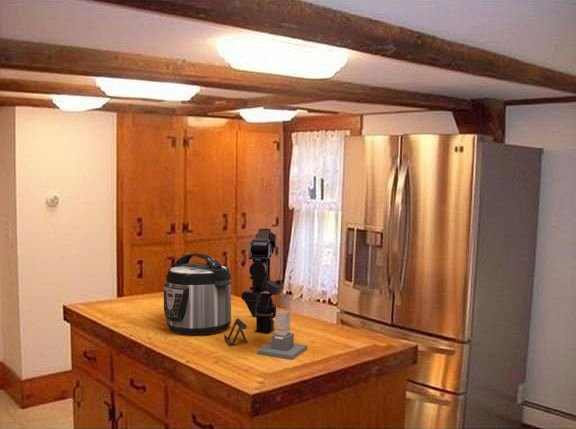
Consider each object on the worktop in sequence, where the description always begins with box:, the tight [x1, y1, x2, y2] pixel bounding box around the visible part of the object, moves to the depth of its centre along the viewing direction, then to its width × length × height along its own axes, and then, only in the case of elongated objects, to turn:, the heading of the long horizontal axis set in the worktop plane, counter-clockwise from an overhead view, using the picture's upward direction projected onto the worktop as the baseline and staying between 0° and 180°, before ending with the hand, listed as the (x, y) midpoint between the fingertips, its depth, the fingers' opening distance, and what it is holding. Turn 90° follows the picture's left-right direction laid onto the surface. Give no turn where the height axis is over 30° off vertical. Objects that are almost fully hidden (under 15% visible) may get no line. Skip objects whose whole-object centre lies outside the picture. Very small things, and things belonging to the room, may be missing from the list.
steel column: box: [274, 309, 291, 337], centre depth 217 cm, size 4×4×9 cm
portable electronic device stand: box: [223, 318, 248, 347], centre depth 228 cm, size 9×8×8 cm
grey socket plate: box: [256, 332, 308, 361], centre depth 217 cm, size 14×14×6 cm
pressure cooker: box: [163, 252, 232, 336], centre depth 246 cm, size 30×28×32 cm
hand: (259, 314), depth 220 cm, fingers open, 9 cm apart
